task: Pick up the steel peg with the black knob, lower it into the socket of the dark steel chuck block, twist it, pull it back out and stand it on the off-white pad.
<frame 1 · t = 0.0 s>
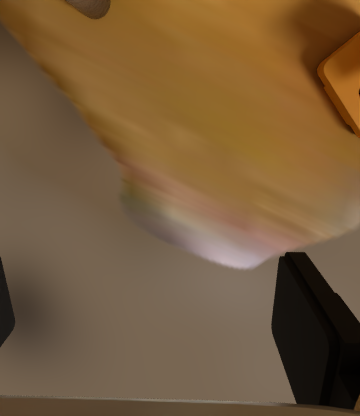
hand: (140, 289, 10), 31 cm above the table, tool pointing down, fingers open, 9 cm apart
steel peg: (94, 0, 35), on the table
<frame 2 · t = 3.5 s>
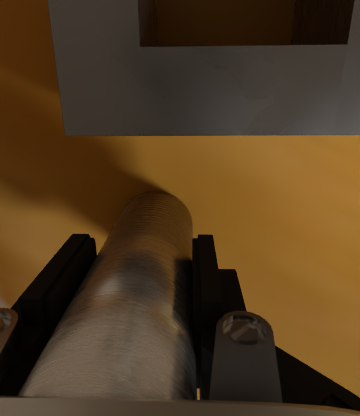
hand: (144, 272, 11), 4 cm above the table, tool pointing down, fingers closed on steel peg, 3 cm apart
steel peg: (156, 226, 15), on the table, touching gripper
when the fingers open (5 cm above the table, at t = 17.2 s): steel peg stays where it is, resting on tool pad.
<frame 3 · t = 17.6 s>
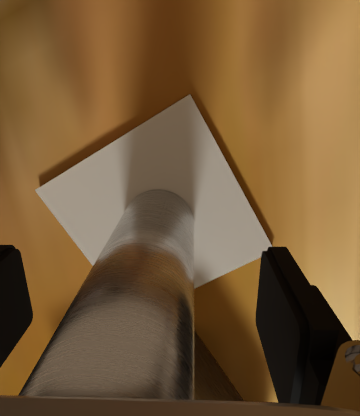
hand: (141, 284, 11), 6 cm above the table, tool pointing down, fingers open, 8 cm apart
steel peg: (159, 222, 16), point 1 cm above the table, touching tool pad
chuck block: (163, 406, 21), on the table
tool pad: (158, 217, 17), on the table
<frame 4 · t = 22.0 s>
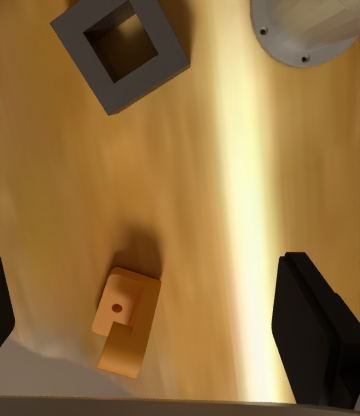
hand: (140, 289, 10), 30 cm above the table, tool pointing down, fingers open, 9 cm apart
chuck block: (130, 50, 35), on the table
bracket: (127, 298, 47), on the table
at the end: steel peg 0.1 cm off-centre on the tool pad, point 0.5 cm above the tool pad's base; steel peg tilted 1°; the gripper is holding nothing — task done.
